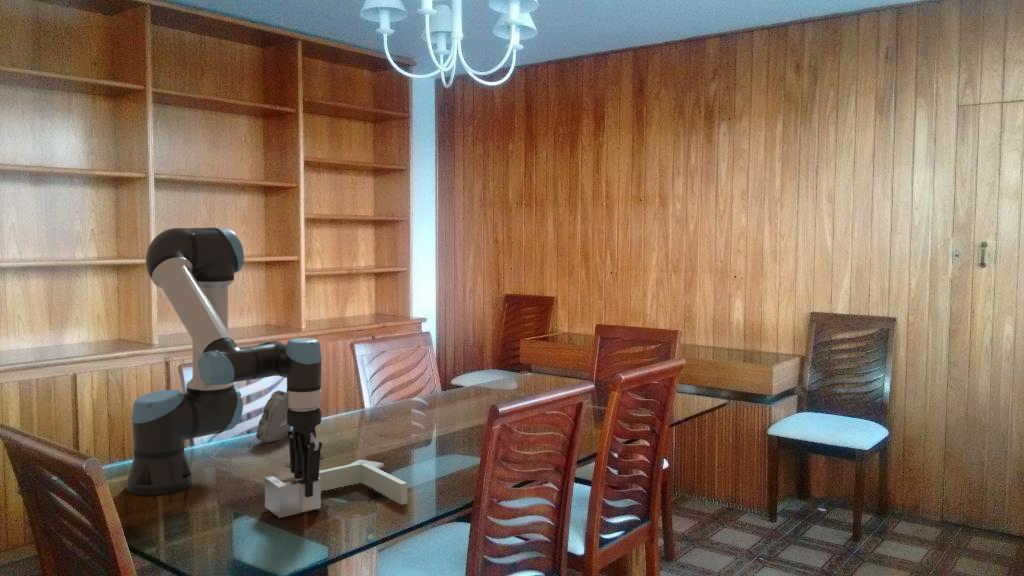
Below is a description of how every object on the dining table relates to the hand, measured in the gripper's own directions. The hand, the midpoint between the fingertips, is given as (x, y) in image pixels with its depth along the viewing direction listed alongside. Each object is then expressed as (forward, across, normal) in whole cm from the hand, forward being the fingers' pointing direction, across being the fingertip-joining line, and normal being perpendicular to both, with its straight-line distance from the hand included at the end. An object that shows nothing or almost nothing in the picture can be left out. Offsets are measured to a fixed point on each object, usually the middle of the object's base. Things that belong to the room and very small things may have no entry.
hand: (304, 507), depth 184 cm
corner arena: (+1, +2, -13) cm, 13 cm away
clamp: (+3, +34, -16) cm, 38 cm away
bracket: (+1, +3, +2) cm, 3 cm away
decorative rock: (+3, +62, -20) cm, 65 cm away
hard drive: (+2, +20, -24) cm, 31 cm away
